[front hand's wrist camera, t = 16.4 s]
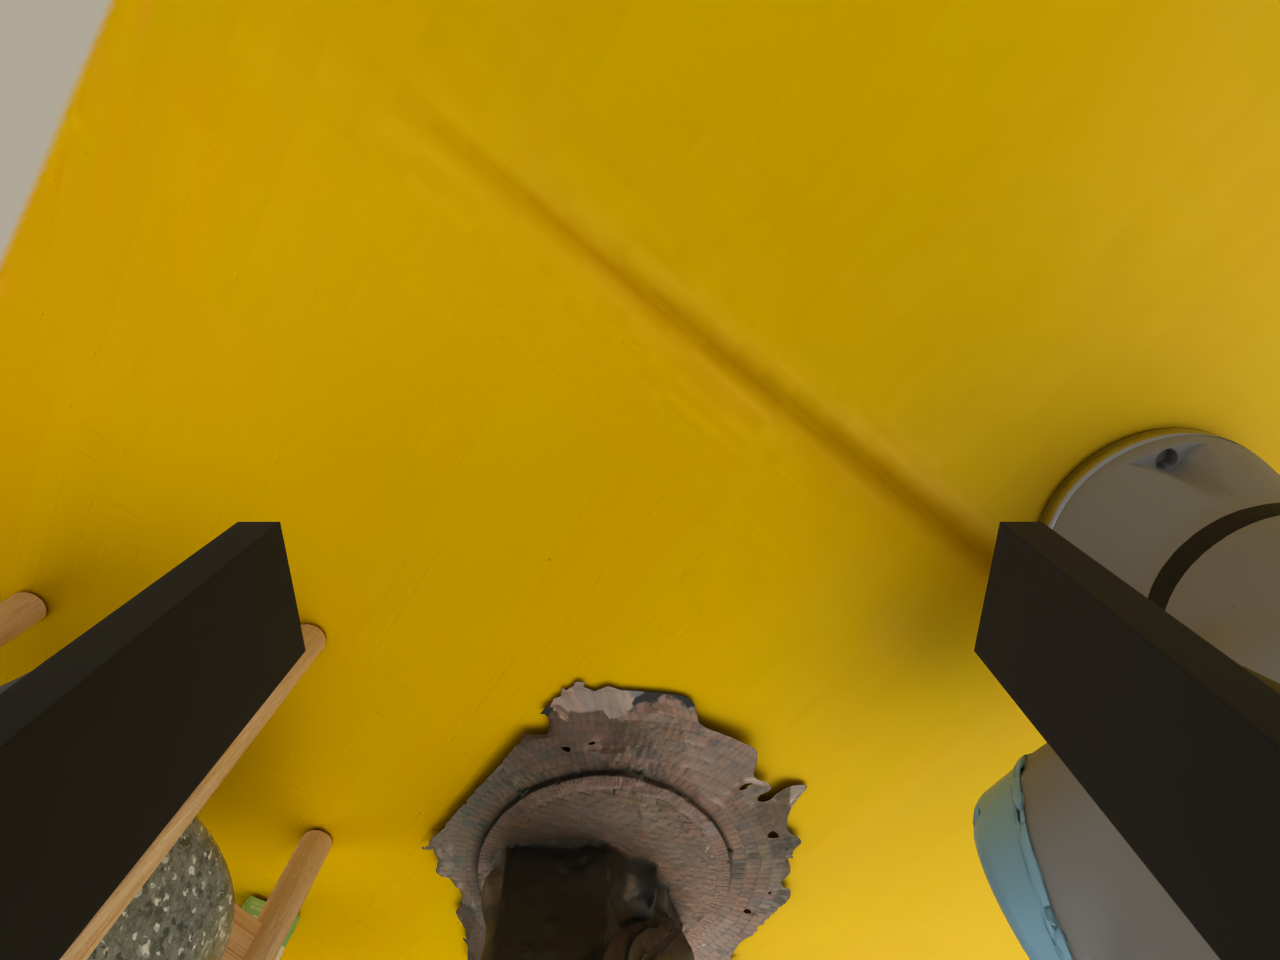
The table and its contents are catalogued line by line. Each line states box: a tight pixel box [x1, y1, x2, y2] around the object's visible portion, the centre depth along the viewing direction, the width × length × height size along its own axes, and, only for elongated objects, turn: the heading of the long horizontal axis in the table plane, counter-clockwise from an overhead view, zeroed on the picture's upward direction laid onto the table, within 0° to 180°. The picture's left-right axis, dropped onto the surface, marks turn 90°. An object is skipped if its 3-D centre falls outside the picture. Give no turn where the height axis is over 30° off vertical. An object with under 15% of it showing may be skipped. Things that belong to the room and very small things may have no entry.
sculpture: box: [422, 682, 807, 960], centre depth 50 cm, size 33×35×16 cm
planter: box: [0, 592, 332, 960], centre depth 37 cm, size 22×22×32 cm
